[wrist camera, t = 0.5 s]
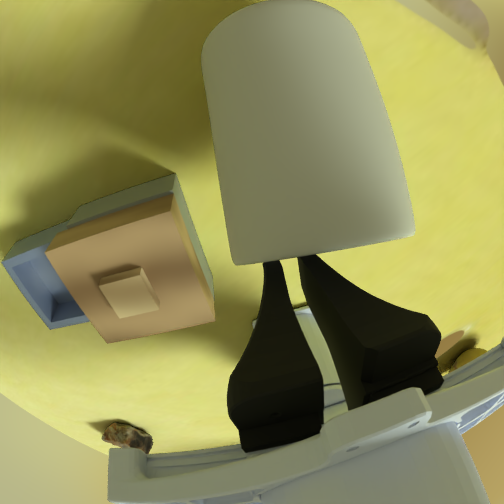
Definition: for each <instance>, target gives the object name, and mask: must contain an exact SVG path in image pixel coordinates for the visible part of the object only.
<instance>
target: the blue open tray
mask: <svg viewBox="0 0 504 504" xmlns="http://www.w3.org/2000/svg"><path fill="white" fill-rule="evenodd" d="M69 221H70V220H68V221H66V222H63V223H61V224H58V225H56V226H53V227H51V228H48V229H46V230H43V231H41V232H39V233H36V234H34V235H31V236H29V237H27V238H24V239H22V240H20V241H18V242H16V243H15V244H14V245H13V247H12V248H11V249H10V251H9V252H8V253H7V255H6V256H5V258H4V259H3V260H2V262H1V263H2V264H3V266H4V267H5V269H6V270H7V272H8V273H9V275H10V276H11V278H12V279H13V281H14V282H15V284H16V285H17V287H18V288H19V290H20V291H21V292H22V294H23V295H24V297H25V298H26V299H27V301H28V302H29V303H30V305H31V306H32V307H33V309H34V310H35V311H36V313H37V314H38V315H39V317H40V318H41V319H42V320H43V322H44V323H45V324H46V325H47V327H48V328H49V329H50V330H51V329H56V328H61V327H66V326H70V325H75V324H80V323H85V322H89V321H90V320H89V319H88V318H87V316H86V315H85V314H84V312H83V311H82V309H81V308H80V307H79V305H78V304H77V302H76V301H75V300H74V298H73V297H72V295H71V294H70V292H69V291H68V289H67V288H66V286H65V285H64V283H63V282H62V280H61V279H60V277H59V276H58V274H57V272H56V271H55V269H54V268H53V266H52V264H51V263H50V261H49V259H48V258H47V256H46V254H45V251H46V249H47V248H48V246H49V245H50V243H51V242H52V240H53V239H54V237H55V235H56V234H57V233H59V232H61V231H64V230H67V227H66V225H67V224H68V222H69Z"/></svg>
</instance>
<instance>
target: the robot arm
mask: <svg viewBox="0 0 504 504" xmlns="http://www.w3.org/2000/svg"><path fill="white" fill-rule="evenodd" d="M297 258H298V265H299V272H300V279H301V286H302V289H303V292H304V295H305V298H306V301H307V304H308V306H305V307H301V308H298V309H293V307H292V304H291V301H290V298H289V294H288V289H287V285H286V281H285V276H284V272H283V268H282V265H281V263H280V261H279V260H276V261H269V262H264V263H263V268H264V285H263V294H262V300H261V305H260V310H259V314H258V317H257V319H256V320H254V321H253V322H252V325H253V329H254V330H253V333H252V335H251V338H250V340H249V343H248V345H247V347H246V349H245V351H244V353H243V355H242V357H241V359H240V361H239V362H238V364H237V366H236V367H235V369H234V371H233V372H232V374H231V375H230V379H229V384H228V391H227V407H228V414H229V417H230V419H231V420H232V422H233V423H234V425H235V426H236V427H237V429H238V430H239V436H240V442H241V444H236V445H230V446H224V447H217V448H210V449H202V450H194V451H184V452H173V453H159V454H145V453H144V452H143V451H142V450H140V449H137V448H110V449H109V465H108V501H109V502H112V503H115V504H490V501H489V499H488V496H487V493H486V491H485V488H484V486H483V484H482V481H481V479H480V476H479V474H478V471H477V469H476V467H475V465H474V462H473V460H472V458H471V455H470V453H469V451H468V449H467V447H466V444H465V442H464V440H463V438H462V436H461V434H463V433H464V432H466V431H467V430H469V429H470V428H472V427H473V426H475V425H476V424H477V423H479V422H481V421H482V420H483V419H485V418H486V417H487V416H489V415H490V414H492V413H493V412H494V411H495V410H497V409H498V408H499V407H501V406H502V405H503V404H504V337H503V339H502V341H501V343H500V344H499V345H497V346H496V347H494V348H492V349H491V350H489V351H487V352H486V353H484V354H483V355H481V356H479V357H477V358H476V359H474V360H472V361H471V362H469V363H467V364H465V365H463V366H462V367H460V368H458V369H456V370H454V371H452V372H450V373H448V374H446V375H445V376H443V377H442V375H441V373H440V372H439V370H438V368H437V367H436V366H438V361H437V360H436V358H435V354H436V351H437V349H438V346H439V344H440V341H441V333H440V331H439V330H438V328H437V327H436V325H435V324H434V323H433V321H432V320H431V319H430V318H429V317H428V315H425V314H422V313H418V312H414V311H410V310H407V309H404V308H401V307H398V306H395V305H393V304H390V303H388V302H386V301H384V300H381V299H379V298H377V297H375V296H373V295H371V294H369V293H367V292H366V291H364V290H362V289H360V288H359V287H357V286H356V285H354V284H353V283H351V282H350V281H348V280H347V279H345V278H344V277H343V276H341V275H340V274H339V273H337V272H336V271H335V270H334V269H332V268H331V267H330V266H329V265H327V264H326V263H325V262H324V261H323V260H322V259H321V258H319V257H318V256H317V255H316V254H313V255H307V256H301V257H297Z"/></svg>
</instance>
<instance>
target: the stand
mask: <svg viewBox="0 0 504 504" xmlns="http://www.w3.org/2000/svg"><path fill="white" fill-rule="evenodd" d="M173 193H174V196H175V198H176V201H177V204H178V207H179V210H180V212H181V215H182V218H183V221H184V223H185V226H186V229H187V231H188V234H189V237H190V239H191V242H192V245H193V247H194V250H195V253H196V255H197V258H198V260H199V263H200V265H201V268H202V271H203V273H204V276H205V278H206V281H207V283H208V286H209V288H210V291H211V293H212V296H213V298H214V288H213V276H212V273H211V271H210V268H209V265H208V263H207V260H206V257H205V255H204V252H203V249H202V246H201V244H200V241H199V238H198V235H197V233H196V230H195V227H194V224H193V221H192V219H191V216H190V213H189V210H188V207H187V204H186V201H185V198H184V195H183V193H182V190H181V187H180V184H179V181H178V178H177V175H176V173H175V174H172V175H169V176H165V177H162V178H159V179H156V180H153V181H150V182H146V183H143V184H140V185H137V186H134V187H131V188H129V189H126V190H123V191H120V192H117V193H114V194H111V195H109V196H106V197H103V198H100V199H98V200H95V201H92V202H90V203H87V204H84V205H82V206H80V207H79V208H78V209H77V211H76V212H75V214H74V215H73V217H72V218H71V219H70V221H69V222H68V224H67V225H66V227H67V229H69V228H72V227H75V226H77V225H80V224H83V223H85V222H88V221H91V220H94V219H97V218H99V217H102V216H105V215H108V214H111V213H114V212H117V211H120V210H123V209H126V208H129V207H132V206H135V205H138V204H141V203H144V202H147V201H151V200H154V199H157V198H160V197H163V196H167V195H170V194H173Z"/></svg>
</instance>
